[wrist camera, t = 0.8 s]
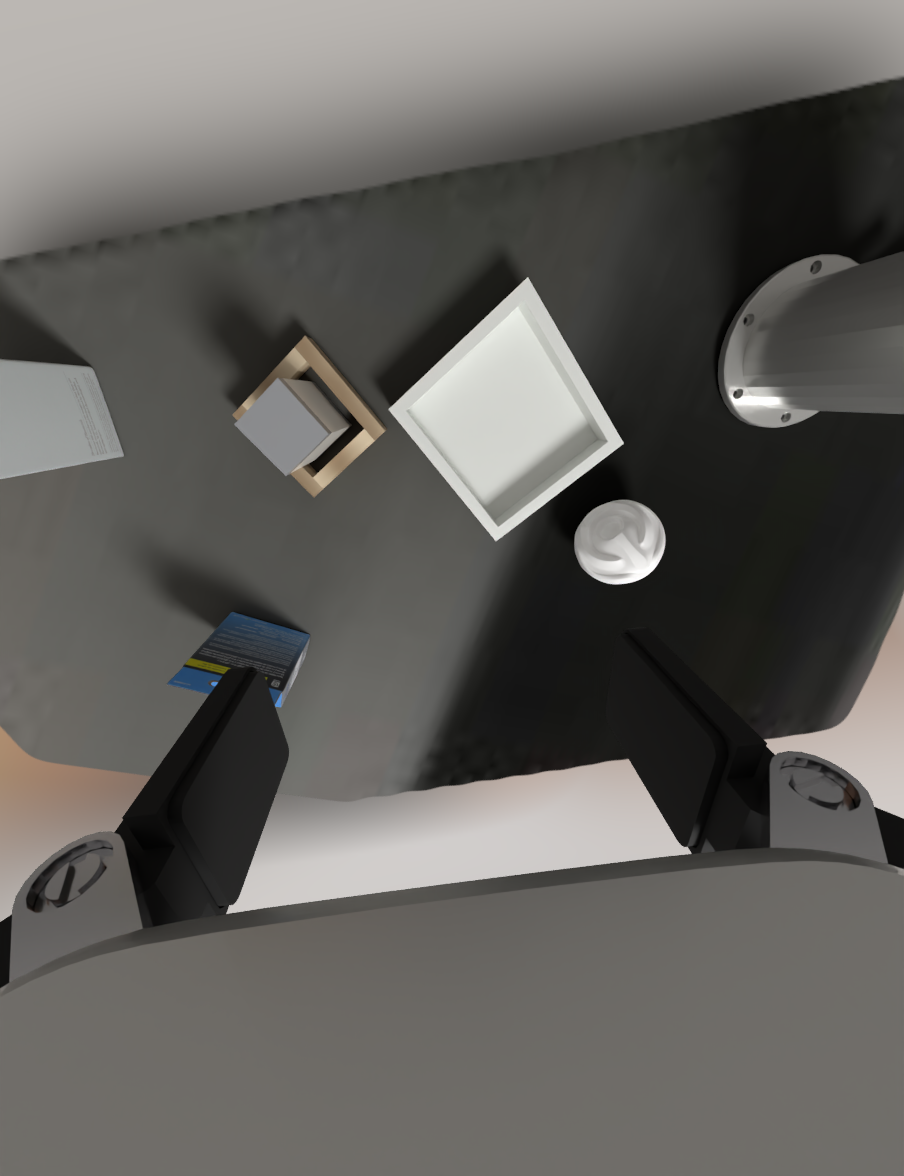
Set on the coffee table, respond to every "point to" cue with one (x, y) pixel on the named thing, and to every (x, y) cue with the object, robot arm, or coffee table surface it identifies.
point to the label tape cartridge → (246, 656)
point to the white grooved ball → (619, 542)
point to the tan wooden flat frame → (313, 356)
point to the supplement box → (52, 418)
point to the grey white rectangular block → (293, 423)
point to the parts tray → (508, 414)
